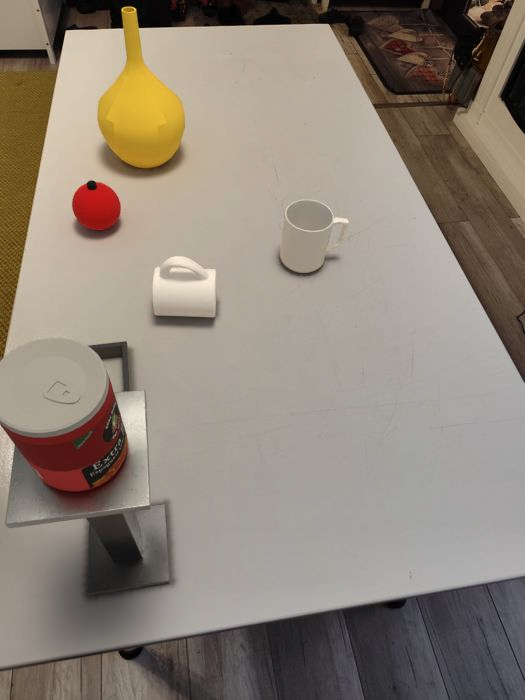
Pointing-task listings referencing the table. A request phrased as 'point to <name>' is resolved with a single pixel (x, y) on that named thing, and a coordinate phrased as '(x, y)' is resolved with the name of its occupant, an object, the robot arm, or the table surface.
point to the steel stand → (105, 510)
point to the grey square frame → (116, 351)
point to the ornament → (96, 205)
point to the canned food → (62, 413)
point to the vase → (140, 108)
